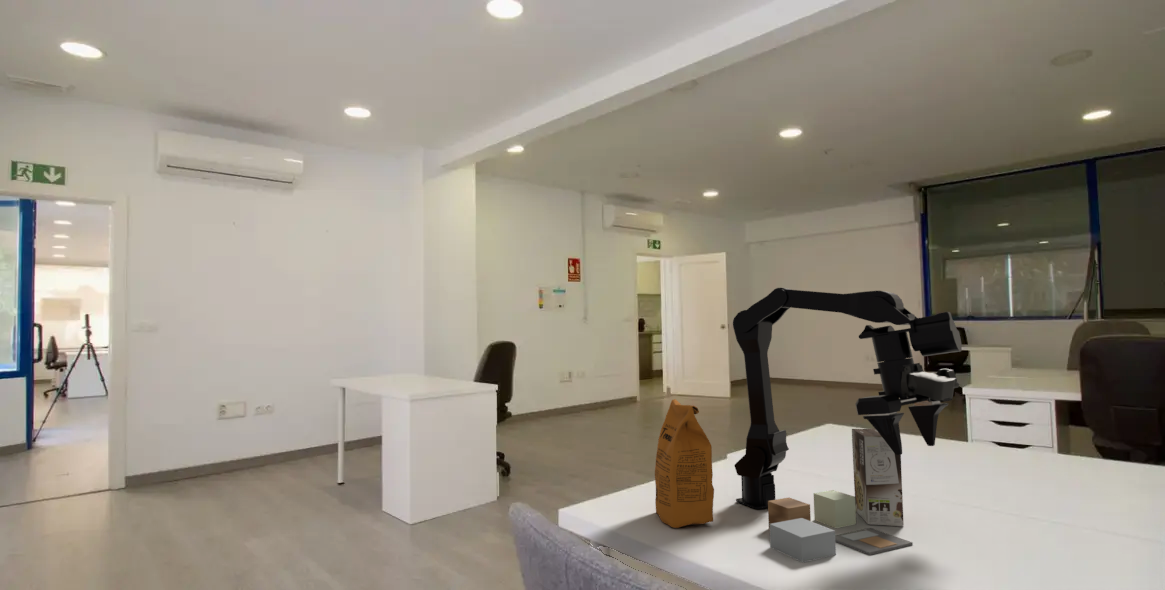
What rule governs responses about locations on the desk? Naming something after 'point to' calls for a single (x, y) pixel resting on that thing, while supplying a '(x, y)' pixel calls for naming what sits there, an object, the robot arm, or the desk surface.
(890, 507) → the coffee box
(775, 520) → the walnut block
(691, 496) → the coffee package
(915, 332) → the robot arm
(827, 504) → the sage block
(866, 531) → the card
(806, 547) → the slate base block
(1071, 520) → the desk surface
